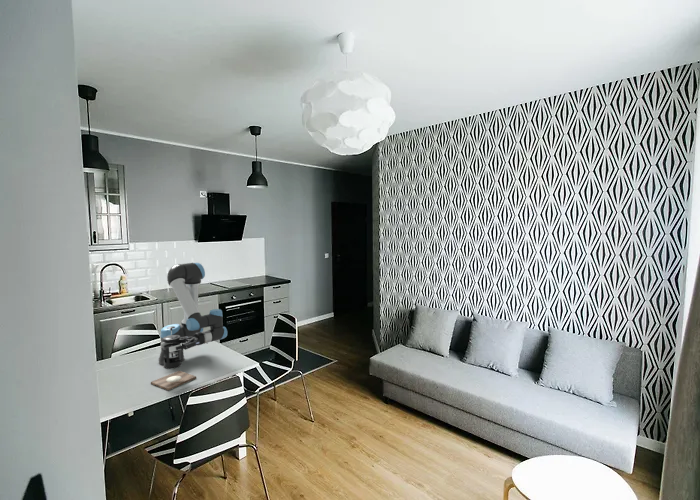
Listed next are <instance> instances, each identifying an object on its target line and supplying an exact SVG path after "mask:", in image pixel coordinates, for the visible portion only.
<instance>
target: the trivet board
mask: <svg viewBox="0 0 700 500" xmlns="http://www.w3.org/2000/svg"><path fill="white" fill-rule="evenodd" d="M196 379H197V375H193V374H190V373H187V372H185V371H181V370H177V371H175V372H172V373H169V374H168V375H165V376H162V377H159V378H156V379H155V380H151V381H150V384H151V385H152V384H153V386H155V385H156V386H155V387H157V386H158V387H157V388H160V387H161V388H160V389H162V388H163V390H165V389H166V390H165V391H168V390H169V391H171V390H173V389H175V388H177V386H178V387H179V385H180V386H182V385H184V383H185V384H187V383H188V382H191V381H193V380H196ZM174 387H175V388H174ZM172 388H173V389H172ZM170 389H171V390H170Z"/></svg>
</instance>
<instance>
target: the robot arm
mask: <svg viewBox="0 0 700 500" xmlns="http://www.w3.org/2000/svg"><path fill="white" fill-rule="evenodd" d="M205 277H206V272H205V268H204V266H203V265H202V263H200V262H189V263H188V262H187V263H177V264H175V265H173V266H172V267H170V269H169V270H168V273H167V276H166V280H167V284H168V286H169V287H170V288H171V289H172V290H173V292H174V294H175V296H176V297H177V298H176V299H177V301H178V302H179V304H180V306H181V308H182V310H183V319H182V320H181V321H180V322H181V324H179V323H173V324H168V325H164V327H162V328H161V330H160V334H159V335H160V350H161V351H160V353H159V357H158V364H159V365H162V366H164V349H163V346H164V345H167V344H170V343H164V340H163V338H164V337H166V336H170V335H171V330H170V329H167V328H168V327H171V326H174V327H175V328H172V335H179V336H180V338H179V341H178V342H175V343H179V344H180V345H176V346H175V345H172V346H167V347H166V348H169V353H172V352H175V351H177V350H180V358H181V360H182V356H181V349H183V350H185V351H187V350H188V349H190V348H193V347H196V346H202V345H204V344H205V345H206V344H208V343H211V342H216V341H220V340H223V339H225V338H227V336H228V329H227V327H226V326H224V325H223V324H224V323H223V318H224V317H223V310H222V309H221V308H215V309H211V310H210V311H209V314H205V315H201V312H200V310H199V285H200V284H201V283H202V280H203V279H204V278H205ZM206 328H210V329H206ZM204 329H206V330H204Z"/></svg>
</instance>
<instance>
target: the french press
mask: <svg viewBox="0 0 700 500" xmlns="http://www.w3.org/2000/svg"><path fill="white" fill-rule="evenodd" d="M172 328H175V327H174V326H171V327H168V328H167V329H170V330H171V335H170V336H166V337H164V338H163V340H164V343H170V344H167V345H164V346H163V349H164V365H163V368H164V369H167V370H171V369H176V368H179V367H181V366H182V365H183V364H182V362H184V360H185V356H184V354H185V352H184V349H181V356H182V360H181V358H180V350H177V351H175V352H172V353H169V348H166V347H167V346H172V345H175V346H176V345H180V344H179V343H175V342H178V341H179V338H180V336H179V335H172Z"/></svg>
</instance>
